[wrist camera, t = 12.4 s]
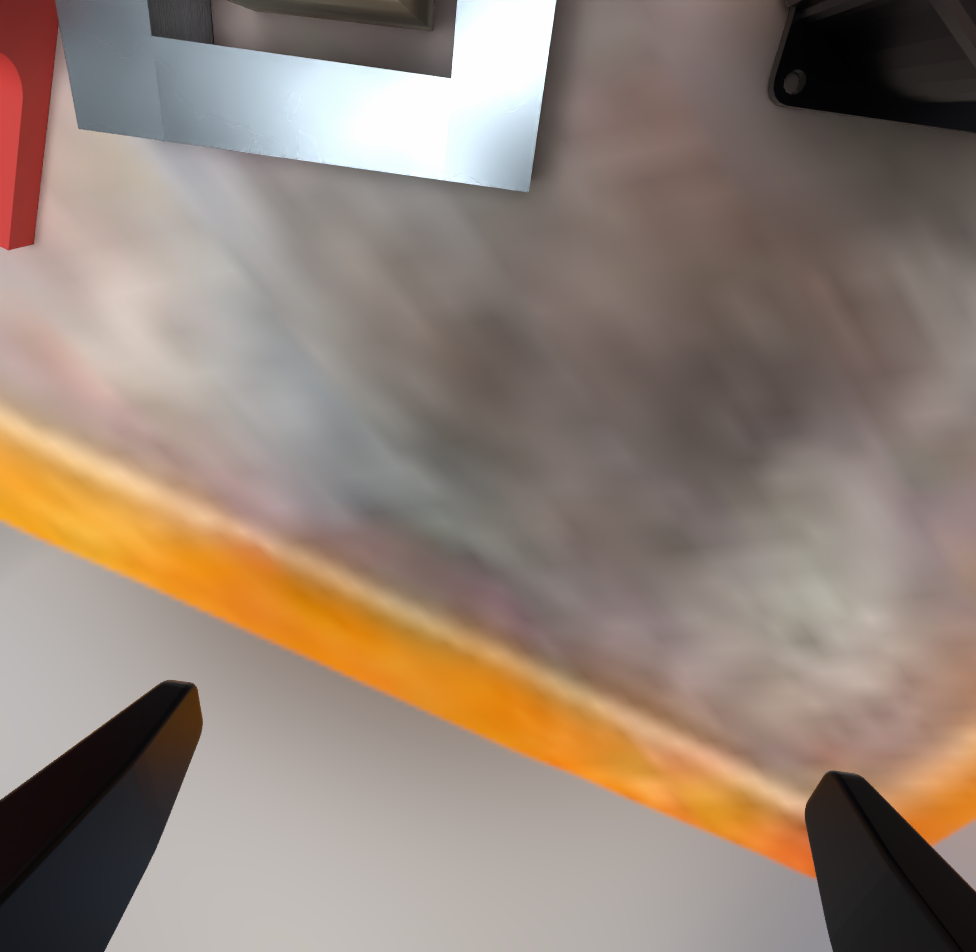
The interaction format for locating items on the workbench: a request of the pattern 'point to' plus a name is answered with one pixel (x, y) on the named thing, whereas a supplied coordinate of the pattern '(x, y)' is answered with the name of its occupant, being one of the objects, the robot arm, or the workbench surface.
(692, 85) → the workbench surface
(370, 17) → the birch peg
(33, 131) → the bracket
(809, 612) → the workbench surface
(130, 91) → the plate
